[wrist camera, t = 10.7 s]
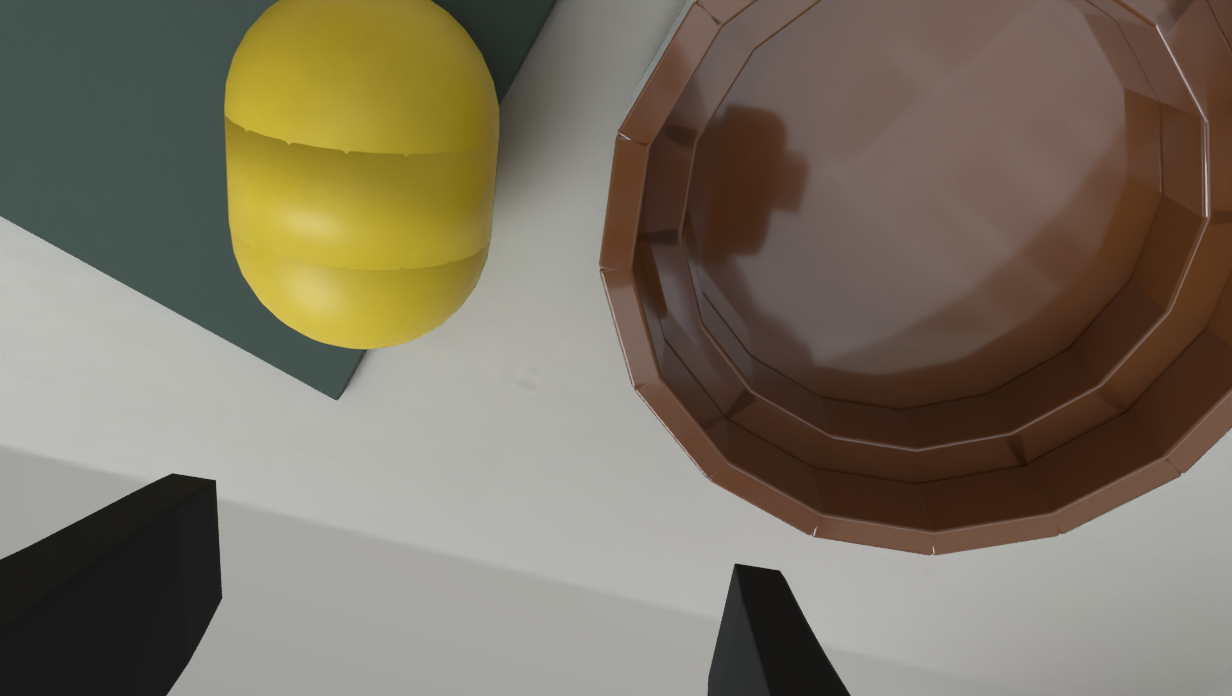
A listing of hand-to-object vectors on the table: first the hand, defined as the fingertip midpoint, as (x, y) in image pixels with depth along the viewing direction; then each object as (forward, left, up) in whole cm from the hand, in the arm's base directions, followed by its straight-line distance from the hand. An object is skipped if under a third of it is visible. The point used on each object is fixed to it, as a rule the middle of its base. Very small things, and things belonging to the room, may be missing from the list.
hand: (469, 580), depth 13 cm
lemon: (+4, +5, -8) cm, 11 cm away
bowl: (+4, -7, -9) cm, 12 cm away
